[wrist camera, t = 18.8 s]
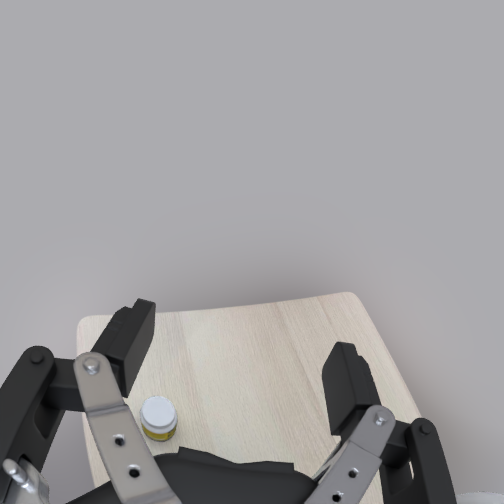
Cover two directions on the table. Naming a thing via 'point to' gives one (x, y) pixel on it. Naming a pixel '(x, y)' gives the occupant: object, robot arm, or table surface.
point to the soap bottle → (480, 498)
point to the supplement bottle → (158, 418)
